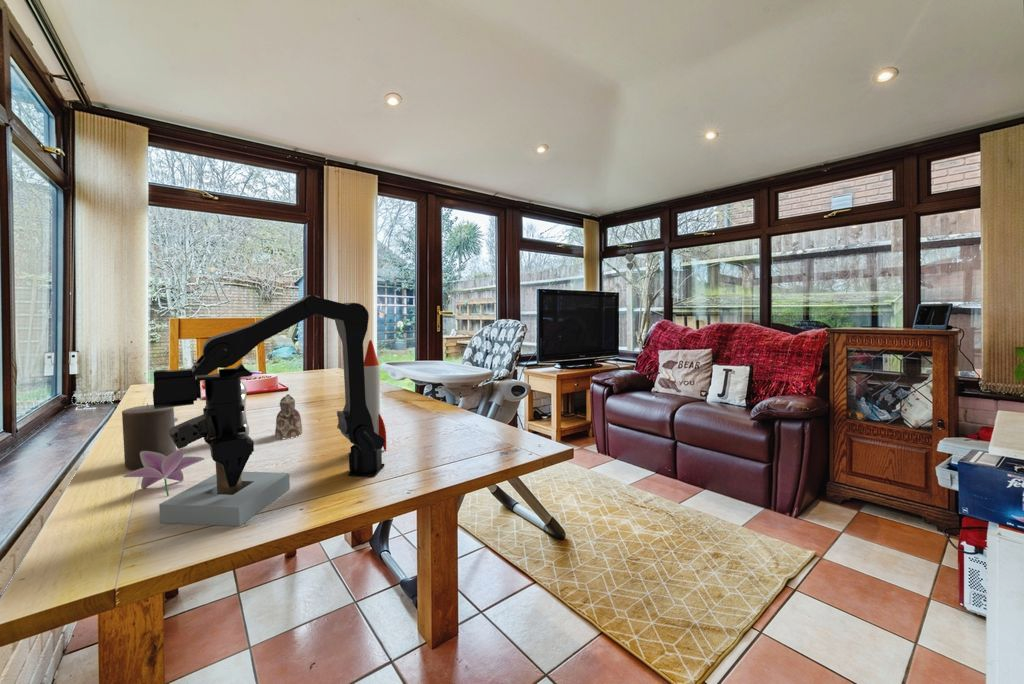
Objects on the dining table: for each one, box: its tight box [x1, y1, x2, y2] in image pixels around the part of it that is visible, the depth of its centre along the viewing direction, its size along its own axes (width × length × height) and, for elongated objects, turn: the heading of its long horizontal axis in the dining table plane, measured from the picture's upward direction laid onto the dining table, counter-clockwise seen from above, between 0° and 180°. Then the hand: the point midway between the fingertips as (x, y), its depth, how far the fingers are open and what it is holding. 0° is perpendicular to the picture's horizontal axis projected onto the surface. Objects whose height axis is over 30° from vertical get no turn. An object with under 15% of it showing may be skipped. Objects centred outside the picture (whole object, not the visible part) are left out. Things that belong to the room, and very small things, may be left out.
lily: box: [123, 447, 205, 497], centre depth 88 cm, size 12×12×10 cm
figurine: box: [274, 394, 303, 439], centre depth 124 cm, size 7×7×12 cm
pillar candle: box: [121, 402, 177, 471], centre depth 103 cm, size 10×10×15 cm
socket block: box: [158, 470, 291, 527], centre depth 82 cm, size 15×15×4 cm
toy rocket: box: [364, 339, 387, 451], centre depth 112 cm, size 6×6×30 cm
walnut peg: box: [215, 462, 242, 495], centre depth 82 cm, size 4×4×9 cm
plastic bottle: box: [239, 380, 250, 436], centre depth 119 cm, size 6×7×20 cm
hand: (228, 478), depth 82 cm, fingers open, 9 cm apart
